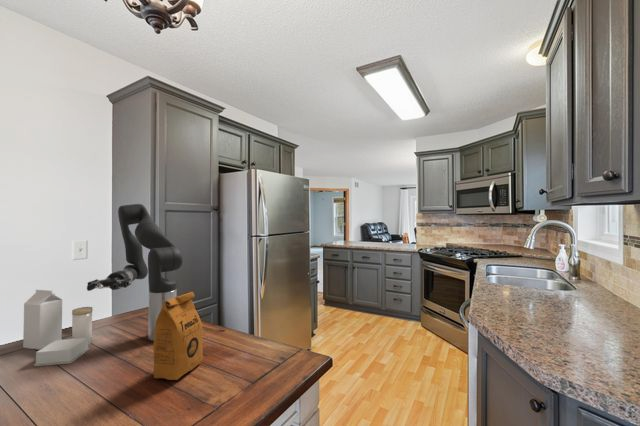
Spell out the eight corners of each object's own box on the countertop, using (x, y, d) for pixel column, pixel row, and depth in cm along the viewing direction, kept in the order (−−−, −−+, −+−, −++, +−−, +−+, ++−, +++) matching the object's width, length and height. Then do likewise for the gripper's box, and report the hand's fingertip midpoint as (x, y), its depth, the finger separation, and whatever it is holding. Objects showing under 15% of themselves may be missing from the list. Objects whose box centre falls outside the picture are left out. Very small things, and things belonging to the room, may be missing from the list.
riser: (88, 349, 98) (89, 337, 99) (70, 363, 89) (71, 350, 89) (55, 351, 97) (56, 339, 97) (33, 366, 87) (34, 352, 87)
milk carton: (39, 350, 98) (40, 293, 98) (22, 348, 99) (23, 292, 99) (61, 341, 105) (62, 288, 105) (46, 339, 106) (47, 287, 106)
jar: (95, 340, 106) (95, 306, 106) (86, 346, 100) (86, 311, 101) (77, 341, 105) (78, 307, 105) (67, 348, 99) (68, 312, 99)
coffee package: (208, 363, 89) (208, 291, 89) (175, 386, 77) (176, 303, 78) (182, 358, 92) (183, 289, 93) (147, 379, 81) (148, 299, 81)
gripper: (102, 271, 129) (80, 278, 113) (137, 270, 132) (121, 277, 116) (102, 287, 129) (79, 298, 113) (137, 286, 132) (120, 296, 116)
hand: (100, 287), depth 115 cm, fingers open, 8 cm apart
